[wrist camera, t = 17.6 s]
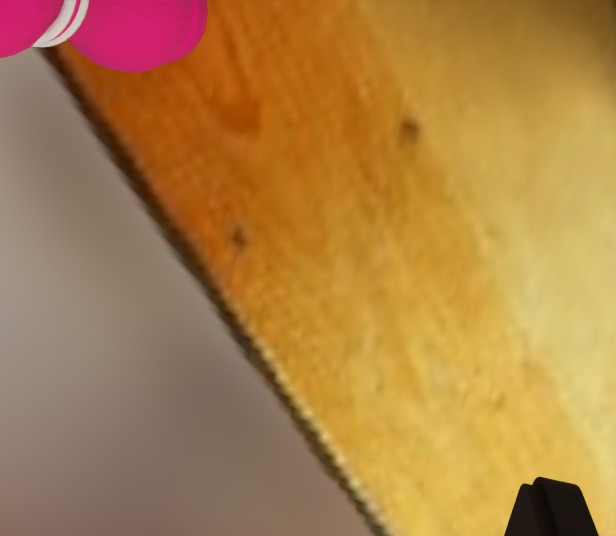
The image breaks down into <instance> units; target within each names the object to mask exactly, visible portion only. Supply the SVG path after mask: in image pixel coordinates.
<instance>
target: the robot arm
mask: <svg viewBox="0 0 616 536" xmlns="http://www.w3.org/2000/svg"><path fill="white" fill-rule="evenodd" d="M504 536H599V535H598V533H597V530H596V527H595V525H594V522H593V520H592V517H591V515H590V512H589V509H588V507H587V504H586V502H585V499H584V496H583V494H582V492H581V490H580V488H579V487H578V486H577V485H575V484H571V483H566V482H561V481H557V480H552V479H548V478H543V477H537V478H536V479H535V480H534V482H533V485H529V484H522V485H521V487H520V489H519V492H518V495H517V498H516V501H515V504H514V507H513V510H512V513H511V516H510V519H509V522H508V526H507V529H506V532H505V535H504Z"/></svg>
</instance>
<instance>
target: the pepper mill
mask: <svg viewBox="0 0 616 536" xmlns="http://www.w3.org/2000/svg"><path fill="white" fill-rule="evenodd" d="M206 21H207V1H206V0H0V58H3V57H8V56H12V55H15V54H17V53H19V52H21V51H23V50H25V49H27V48H29V47H31V46H34V47H50V46H53V45H56V44H59V43H61V42H63V41H65V40H68V41H69V42H70V43H71V44H72V45H73V46H74V47H75V48H76V49H77V51H79V52H80V53H81V54H83V55H84V56H86V57H87V58H89V59H90V60H92V61H94V62H95V63H97V64H99V65H101V66H103V67H106V68H109V69H113V70H117V71H124V72H143V71H148V70H152V69H154V68H156V67H158V66H160V65H162V64H164V63H170V62H174V61H177V60H180V59H181V58H183V57H185V56H187V55H188V54H189V53H190V52H191V51H192V50H193V49H194V48H195V47H196V45H197V44H198V43H199V41H200V40H201V38H202V35H203V33H204V30H205V26H206Z"/></svg>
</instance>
